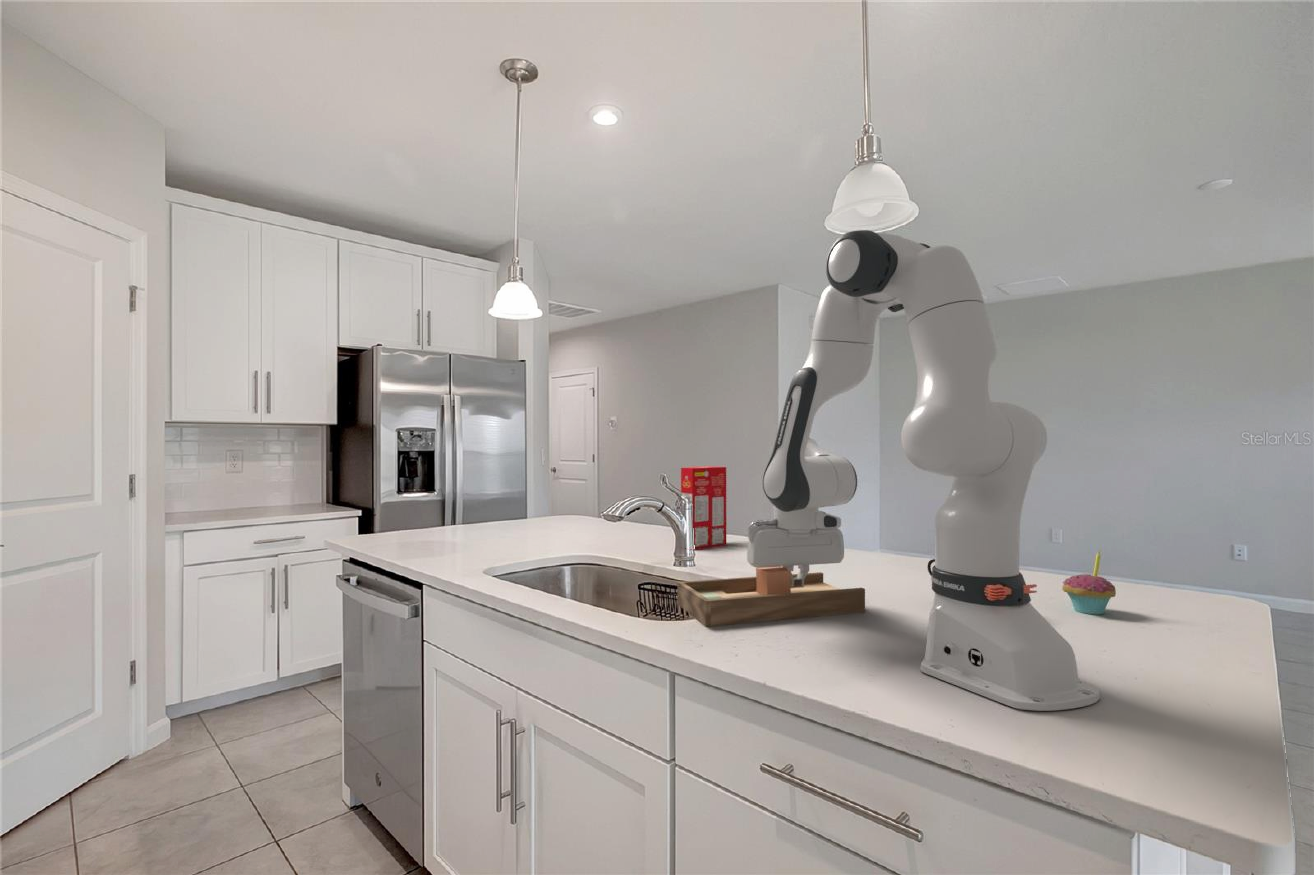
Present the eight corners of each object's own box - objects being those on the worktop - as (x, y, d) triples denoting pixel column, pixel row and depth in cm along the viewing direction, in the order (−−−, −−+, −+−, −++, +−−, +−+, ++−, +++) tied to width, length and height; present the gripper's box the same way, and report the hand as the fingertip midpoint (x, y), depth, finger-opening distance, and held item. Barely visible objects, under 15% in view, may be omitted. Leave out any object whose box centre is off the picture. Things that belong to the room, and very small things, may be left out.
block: (790, 596, 123) (790, 570, 123) (767, 598, 121) (766, 572, 121) (779, 590, 128) (778, 565, 128) (756, 592, 126) (756, 567, 126)
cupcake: (1099, 606, 125) (1098, 546, 125) (1126, 618, 117) (1126, 554, 117) (1053, 605, 126) (1053, 545, 126) (1078, 617, 117) (1077, 553, 117)
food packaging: (714, 543, 203) (714, 466, 204) (726, 545, 199) (726, 467, 200) (681, 548, 194) (680, 467, 194) (692, 550, 190) (692, 468, 190)
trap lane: (865, 612, 121) (865, 588, 121) (705, 626, 111) (705, 601, 112) (820, 592, 136) (820, 572, 136) (677, 604, 127) (677, 581, 127)
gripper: (755, 522, 120) (755, 594, 120) (848, 518, 125) (848, 587, 125) (741, 518, 126) (741, 586, 126) (831, 515, 132) (831, 580, 131)
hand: (795, 587), depth 126 cm, fingers closed
